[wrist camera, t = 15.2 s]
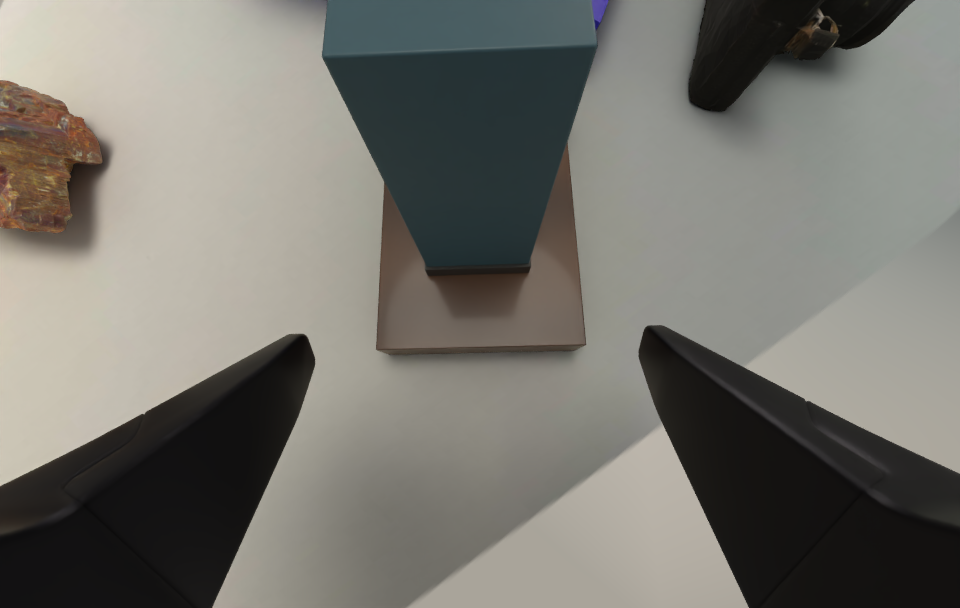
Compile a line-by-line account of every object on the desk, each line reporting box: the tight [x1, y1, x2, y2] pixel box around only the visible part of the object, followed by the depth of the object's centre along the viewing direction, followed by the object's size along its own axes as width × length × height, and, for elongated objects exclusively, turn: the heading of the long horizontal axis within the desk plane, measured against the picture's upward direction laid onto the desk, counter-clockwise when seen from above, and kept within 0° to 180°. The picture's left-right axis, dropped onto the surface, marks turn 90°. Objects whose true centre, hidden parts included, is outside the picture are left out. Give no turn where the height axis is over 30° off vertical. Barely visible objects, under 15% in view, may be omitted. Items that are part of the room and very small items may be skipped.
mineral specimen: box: [0, 80, 103, 233], centre depth 22 cm, size 12×8×7 cm
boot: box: [322, 0, 598, 276], centre depth 14 cm, size 10×6×13 cm, turn 1°
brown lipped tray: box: [376, 143, 586, 355], centre depth 20 cm, size 16×11×6 cm
